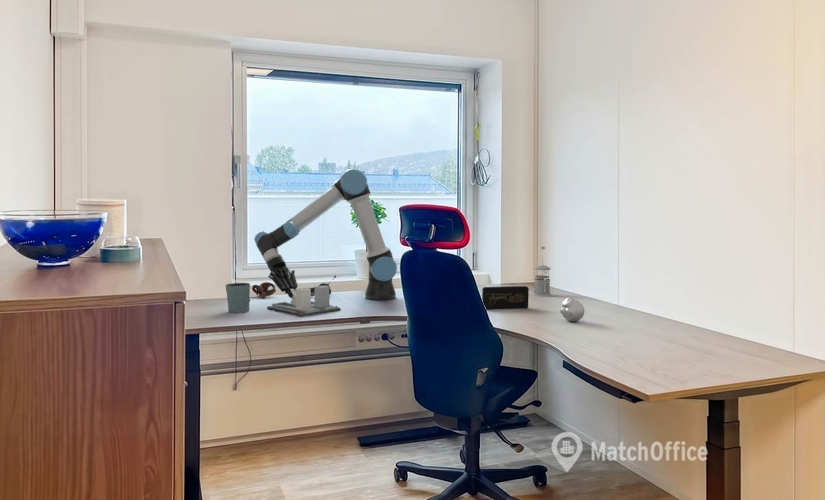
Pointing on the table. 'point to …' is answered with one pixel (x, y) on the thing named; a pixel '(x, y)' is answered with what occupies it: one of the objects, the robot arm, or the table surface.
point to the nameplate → (505, 297)
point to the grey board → (291, 310)
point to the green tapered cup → (238, 297)
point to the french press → (542, 282)
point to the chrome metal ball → (572, 309)
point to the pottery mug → (264, 289)
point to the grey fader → (322, 296)
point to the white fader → (303, 299)
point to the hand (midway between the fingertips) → (297, 302)
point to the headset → (320, 285)
